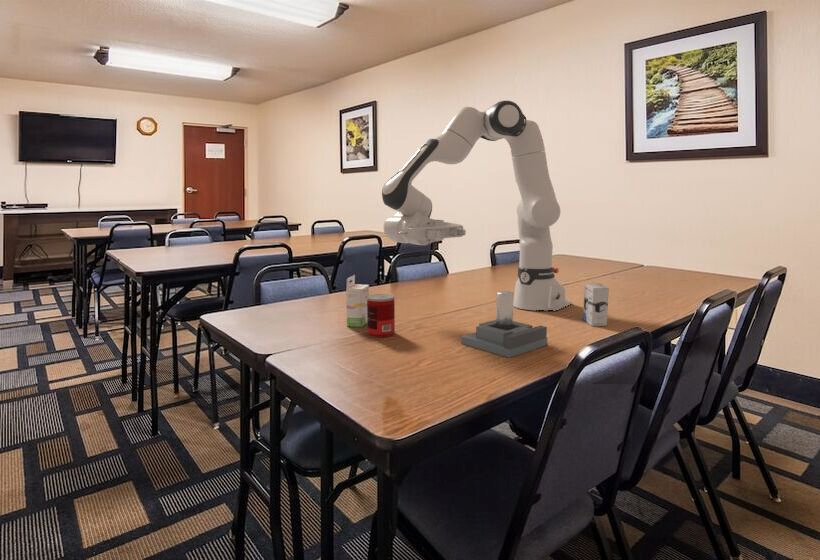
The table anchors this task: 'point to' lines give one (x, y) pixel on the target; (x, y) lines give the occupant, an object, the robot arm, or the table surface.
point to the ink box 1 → (356, 303)
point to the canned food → (381, 315)
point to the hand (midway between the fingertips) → (453, 233)
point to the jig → (506, 338)
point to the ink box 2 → (595, 304)
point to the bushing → (504, 310)
